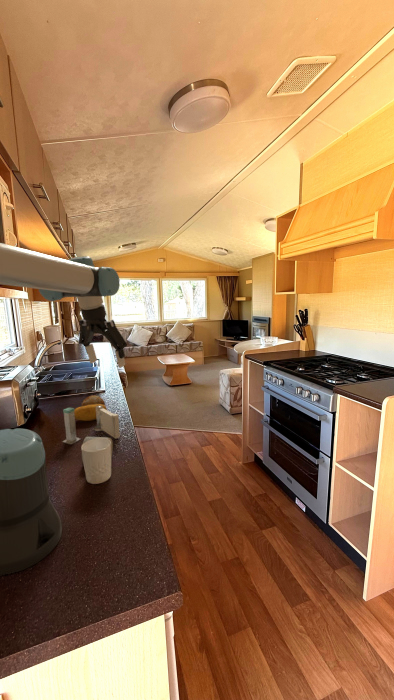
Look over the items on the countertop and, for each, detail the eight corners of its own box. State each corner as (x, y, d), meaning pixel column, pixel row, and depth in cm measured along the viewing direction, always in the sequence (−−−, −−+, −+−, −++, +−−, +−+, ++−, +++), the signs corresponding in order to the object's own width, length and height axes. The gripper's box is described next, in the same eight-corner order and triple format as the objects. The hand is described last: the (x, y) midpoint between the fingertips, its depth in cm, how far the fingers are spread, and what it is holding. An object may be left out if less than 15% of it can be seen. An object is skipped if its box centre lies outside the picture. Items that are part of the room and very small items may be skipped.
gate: (101, 429, 116) (99, 408, 114) (105, 427, 117) (103, 406, 115) (115, 438, 107) (114, 416, 106) (119, 437, 108) (118, 414, 107)
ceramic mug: (109, 465, 91) (107, 442, 90) (81, 467, 91) (79, 443, 89) (116, 449, 102) (114, 427, 100) (91, 450, 101) (89, 428, 100)
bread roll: (89, 420, 135) (93, 406, 132) (75, 407, 139) (78, 394, 136) (106, 413, 143) (110, 400, 140) (92, 401, 147) (96, 388, 144)
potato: (107, 421, 125) (106, 405, 124) (72, 425, 121) (70, 409, 120) (107, 414, 132) (106, 399, 131) (73, 418, 128) (72, 403, 127)
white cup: (111, 467, 90) (109, 436, 89) (114, 481, 83) (112, 448, 81) (84, 472, 88) (81, 441, 86) (84, 488, 80) (81, 453, 79)
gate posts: (69, 445, 104) (66, 412, 102) (61, 441, 107) (57, 409, 105) (110, 427, 118) (108, 398, 116) (102, 424, 121) (99, 396, 119)
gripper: (129, 303, 95) (142, 363, 103) (74, 302, 106) (90, 355, 115) (113, 311, 89) (128, 373, 98) (57, 308, 100) (75, 364, 109)
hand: (107, 363), depth 106 cm, fingers open, 13 cm apart
